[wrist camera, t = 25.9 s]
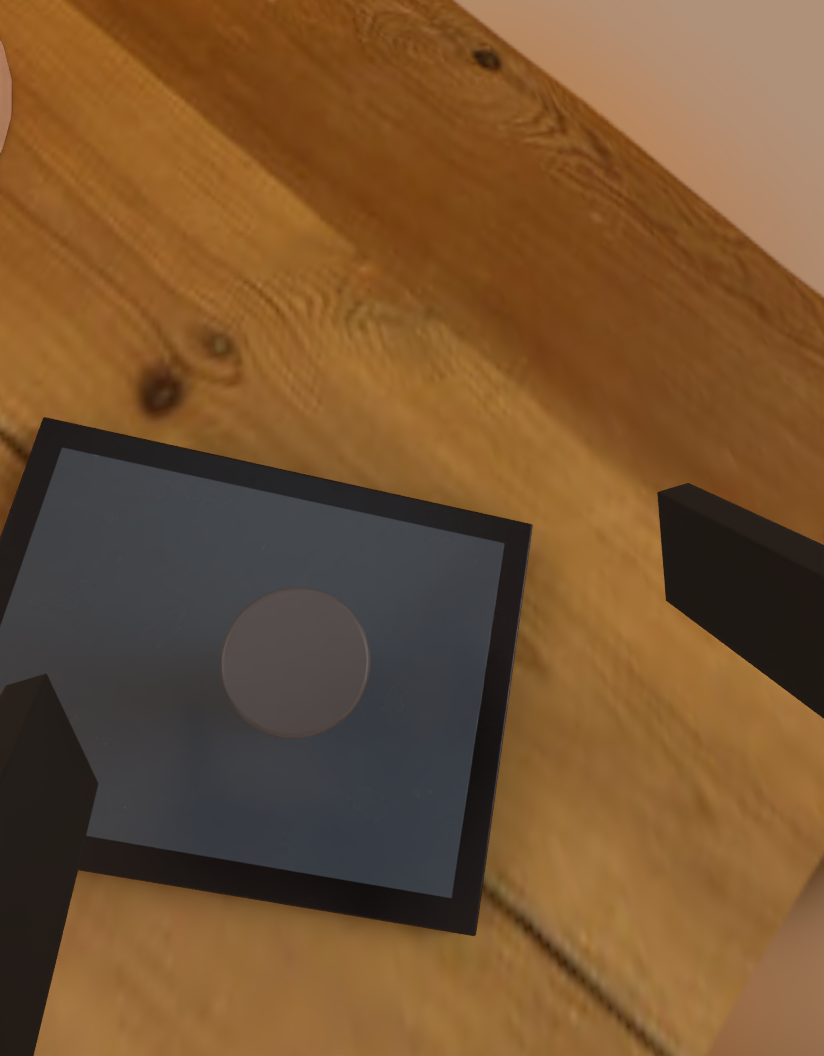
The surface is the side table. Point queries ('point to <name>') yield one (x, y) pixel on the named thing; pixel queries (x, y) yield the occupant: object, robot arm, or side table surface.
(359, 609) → the tablet
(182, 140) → the side table surface
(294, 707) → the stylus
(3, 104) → the bowl
